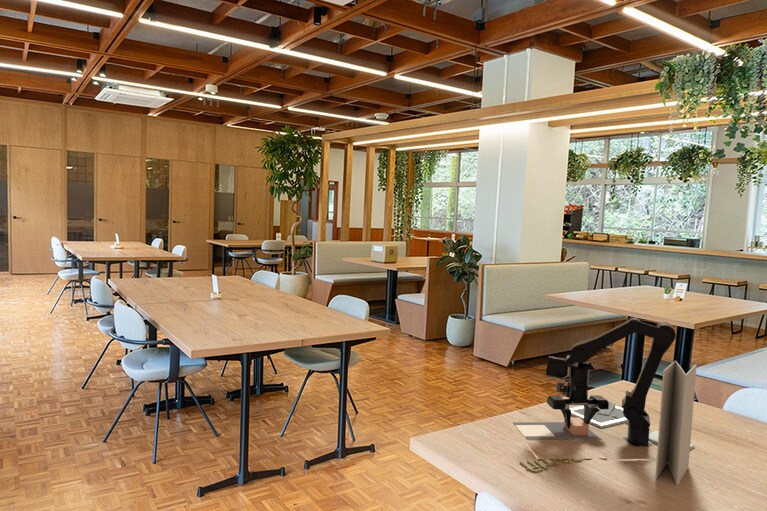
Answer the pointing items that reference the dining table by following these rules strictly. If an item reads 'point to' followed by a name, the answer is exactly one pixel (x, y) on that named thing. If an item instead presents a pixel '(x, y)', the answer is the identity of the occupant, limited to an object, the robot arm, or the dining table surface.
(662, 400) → the brochure
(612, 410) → the picture frame
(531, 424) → the mat
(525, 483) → the dining table surface
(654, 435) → the hard drive
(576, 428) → the card deck
